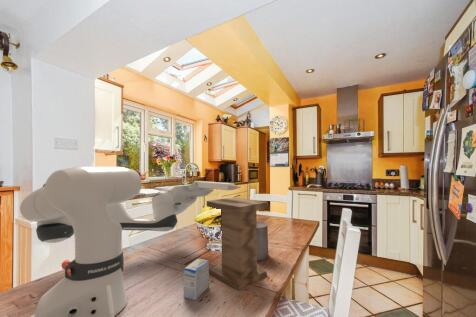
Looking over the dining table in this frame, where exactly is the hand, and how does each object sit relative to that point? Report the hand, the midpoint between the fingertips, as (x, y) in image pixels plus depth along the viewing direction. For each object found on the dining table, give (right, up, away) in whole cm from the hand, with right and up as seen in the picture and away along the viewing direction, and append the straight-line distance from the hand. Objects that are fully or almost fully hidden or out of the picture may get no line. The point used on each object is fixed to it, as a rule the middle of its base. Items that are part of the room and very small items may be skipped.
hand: (201, 183), depth 99 cm
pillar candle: (+25, -32, -3) cm, 40 cm away
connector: (+7, -1, -7) cm, 10 cm away
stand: (+16, -31, -19) cm, 39 cm away
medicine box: (+4, -31, -30) cm, 43 cm away
